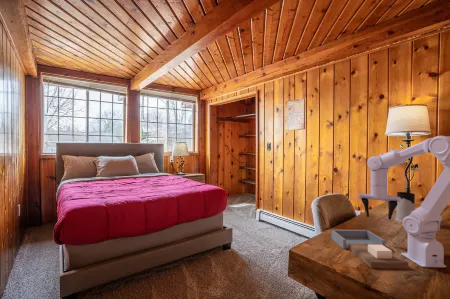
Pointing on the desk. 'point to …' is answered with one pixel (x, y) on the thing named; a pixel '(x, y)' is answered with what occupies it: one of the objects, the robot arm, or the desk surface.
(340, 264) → the desk surface
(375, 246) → the tile
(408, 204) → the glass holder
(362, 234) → the box
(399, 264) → the platform
